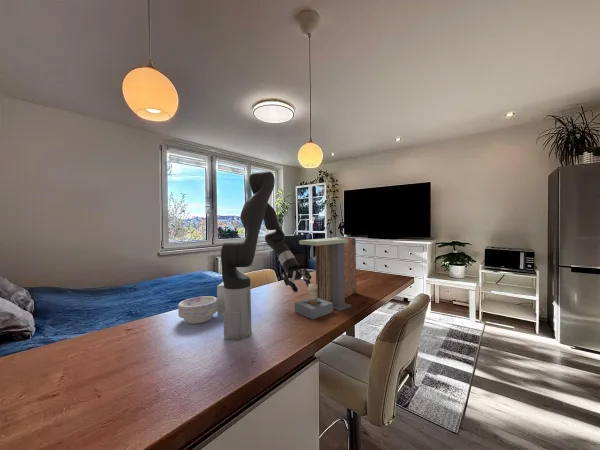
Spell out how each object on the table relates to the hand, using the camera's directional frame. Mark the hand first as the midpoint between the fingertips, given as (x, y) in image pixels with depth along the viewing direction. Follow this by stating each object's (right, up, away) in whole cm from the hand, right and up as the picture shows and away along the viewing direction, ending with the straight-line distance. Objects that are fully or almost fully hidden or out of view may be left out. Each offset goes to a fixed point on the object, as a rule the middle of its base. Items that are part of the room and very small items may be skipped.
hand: (303, 289), depth 114 cm
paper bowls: (-44, -10, -11) cm, 46 cm away
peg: (+4, -8, -5) cm, 11 cm away
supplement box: (-34, -9, -2) cm, 36 cm away
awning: (+10, -8, -3) cm, 14 cm away
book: (+18, -8, +15) cm, 25 cm away
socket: (+4, -8, -5) cm, 11 cm away
